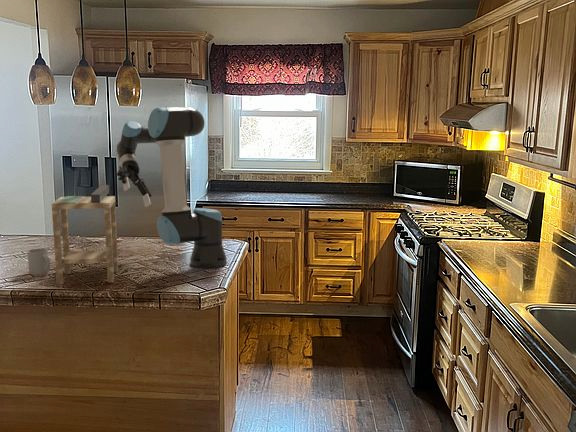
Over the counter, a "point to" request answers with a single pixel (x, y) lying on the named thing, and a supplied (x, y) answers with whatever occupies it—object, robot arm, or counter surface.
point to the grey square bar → (99, 194)
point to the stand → (84, 256)
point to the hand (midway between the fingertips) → (137, 197)
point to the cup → (38, 261)
